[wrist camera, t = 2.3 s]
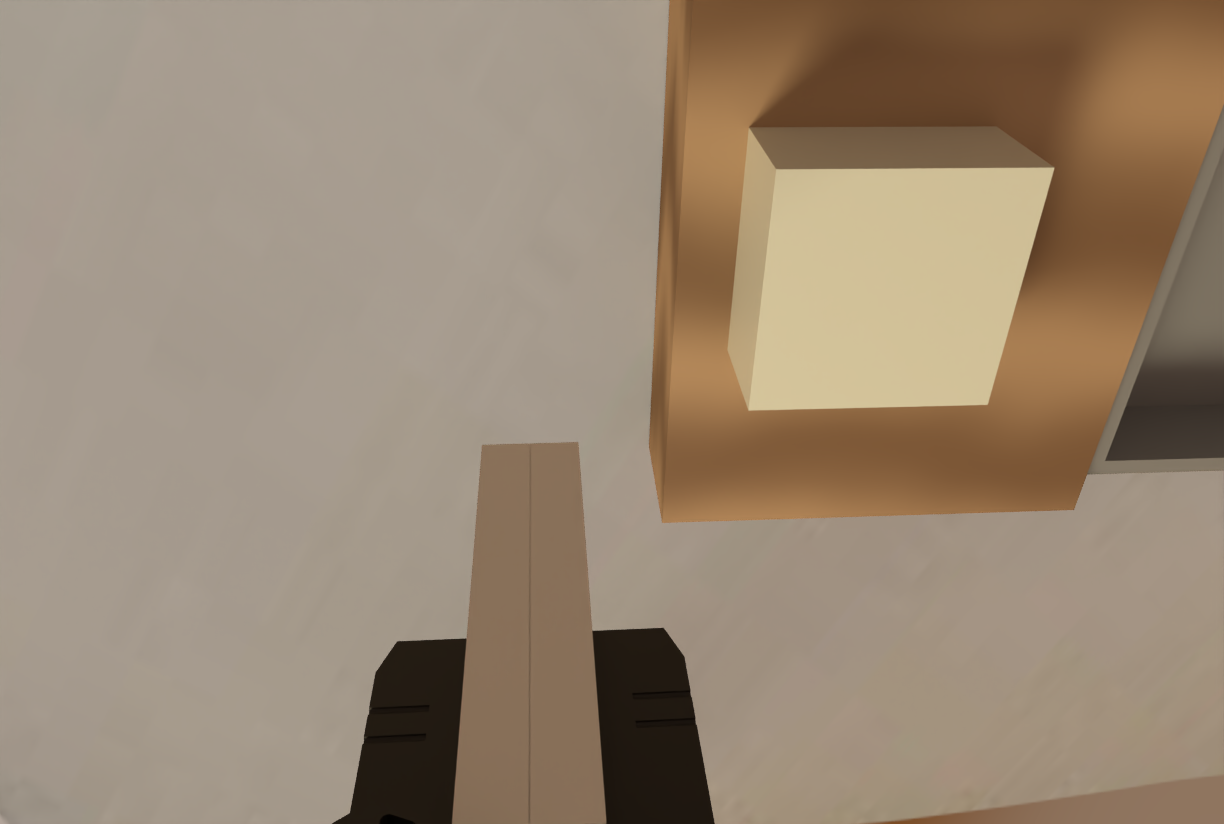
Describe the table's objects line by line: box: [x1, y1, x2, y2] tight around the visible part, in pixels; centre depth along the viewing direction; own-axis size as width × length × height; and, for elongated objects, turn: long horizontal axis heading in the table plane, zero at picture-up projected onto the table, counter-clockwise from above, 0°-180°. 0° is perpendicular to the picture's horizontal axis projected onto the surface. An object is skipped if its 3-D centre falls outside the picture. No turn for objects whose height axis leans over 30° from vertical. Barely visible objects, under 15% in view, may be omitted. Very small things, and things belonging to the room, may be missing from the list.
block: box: [727, 126, 1054, 411], centre depth 22 cm, size 6×6×3 cm
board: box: [649, 0, 1224, 523], centre depth 26 cm, size 18×13×4 cm
